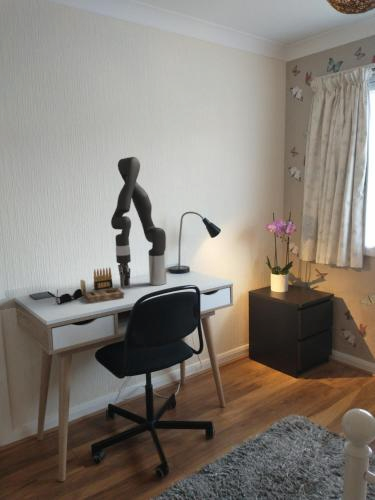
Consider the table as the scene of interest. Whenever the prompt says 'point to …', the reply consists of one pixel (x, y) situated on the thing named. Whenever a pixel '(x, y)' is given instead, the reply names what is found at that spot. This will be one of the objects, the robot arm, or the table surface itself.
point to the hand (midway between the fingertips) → (125, 284)
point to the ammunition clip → (102, 280)
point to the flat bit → (83, 286)
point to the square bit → (123, 282)
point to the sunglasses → (68, 296)
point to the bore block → (103, 295)
